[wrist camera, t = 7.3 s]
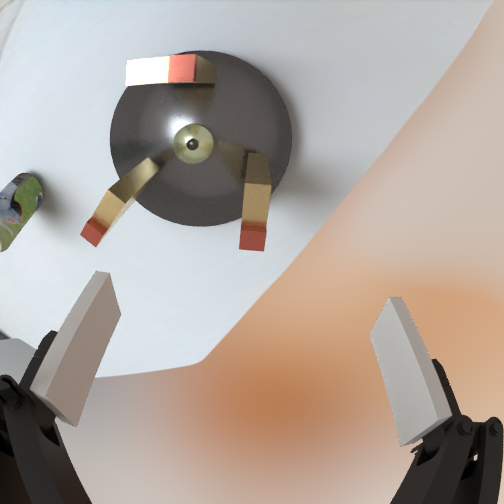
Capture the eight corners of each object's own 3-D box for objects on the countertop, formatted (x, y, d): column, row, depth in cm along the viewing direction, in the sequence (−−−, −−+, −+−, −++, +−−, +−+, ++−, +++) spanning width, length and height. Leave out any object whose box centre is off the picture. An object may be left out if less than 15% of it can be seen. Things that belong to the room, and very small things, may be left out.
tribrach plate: (118, 59, 22) (106, 58, 19) (299, 60, 22) (304, 57, 20) (124, 213, 32) (114, 224, 30) (277, 225, 33) (278, 237, 30)
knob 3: (248, 152, 26) (244, 187, 18) (267, 154, 26) (272, 189, 18) (244, 197, 29) (239, 249, 20) (261, 198, 29) (263, 251, 20)
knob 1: (147, 157, 26) (103, 193, 18) (160, 168, 27) (121, 208, 19) (124, 189, 28) (80, 234, 20) (136, 199, 29) (95, 247, 21)
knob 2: (166, 83, 22) (120, 86, 14) (167, 66, 21) (122, 60, 13) (215, 83, 22) (193, 81, 14) (217, 65, 21) (195, 54, 13)
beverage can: (26, 161, 27) (-33, 198, 17) (57, 191, 30) (2, 237, 20) (15, 192, 30) (-35, 233, 20) (44, 221, 33) (-3, 269, 23)
